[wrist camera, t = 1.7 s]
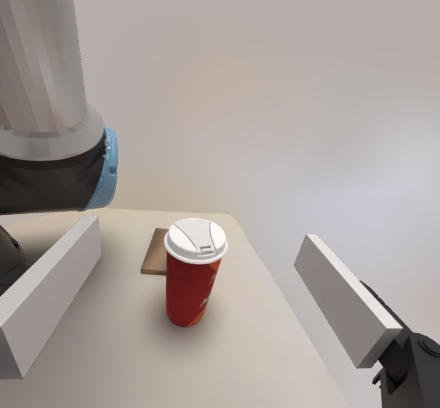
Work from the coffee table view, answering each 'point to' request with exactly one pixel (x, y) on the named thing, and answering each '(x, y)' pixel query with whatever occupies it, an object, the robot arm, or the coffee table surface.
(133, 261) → the coffee table surface
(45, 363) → the coffee table surface
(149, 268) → the walnut pad
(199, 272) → the paper cup
